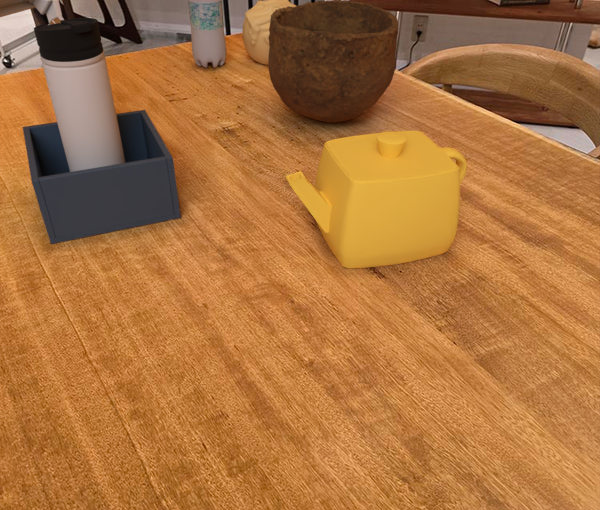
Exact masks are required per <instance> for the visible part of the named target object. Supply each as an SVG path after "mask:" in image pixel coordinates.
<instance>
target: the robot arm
mask: <svg viewBox="0 0 600 510" xmlns="http://www.w3.org/2000/svg"><path fill="white" fill-rule="evenodd" d="M31 9H36V10H37V11H38V12H39V14H40V15H42V16H43V15H46V17H47V21H48V25H51V24H56V23H61V20H65V19H64V17H63V13H62V9H61V5H60V0H0V18H4V17H7V16H10V15H14V14H18V13H21V12H24V11H28V10H31ZM2 57H3V55H2V51H0V59H1V58H2Z"/></svg>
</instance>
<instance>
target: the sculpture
mask: <svg viewBox="0 0 600 510" xmlns="http://www.w3.org/2000/svg"><path fill="white" fill-rule="evenodd" d="M288 6H289V7H296V6H297V5H296V4H294V3H292V2H291V1H290V0H257V2H256V3H255V5H254V6H252V7H251V8H249V9H247V11H246V12H244V16H245V17H244V20H243V24H242V31H241V32H242V33H241V34H242V42H243V46H244V48H245V50H246V52H247V54H248V56H249V57H250V58H251V59H252V60H254V62H257V63H259V64H262V65H265V66H268V60H269V34H270V31H269V27H270V21H271V15H272V14H273V12H275V10H277V9H279V8H287V7H288Z"/></svg>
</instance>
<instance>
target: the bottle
mask: <svg viewBox="0 0 600 510" xmlns="http://www.w3.org/2000/svg"><path fill="white" fill-rule="evenodd" d="M187 2H188V12H189V13H188V15H189V23H190V34H191V35H190V37H191V38H190V39H191V40H190V41H191V55H192V57H193V61H194V62H195V65H197V66H198V67H201V66H202V67H203V68H205V69H207V68H208V67H209V63H211V64H212V67H213V68H214V69H215V68H217V67H218V66H223V65H224V64H225V63H226V60H227V43H226V36H225V27H224V9H223V0H187Z"/></svg>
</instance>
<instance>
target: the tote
mask: <svg viewBox="0 0 600 510" xmlns="http://www.w3.org/2000/svg"><path fill="white" fill-rule="evenodd" d="M116 116H117V121H118V126H119V132H120V137H121V142H122V147H123V153H124V158H125V163H122V164H116V165H110V166H104V167H98V168H92V169H86V170H80V171H74V172H70V170H69V166H68V162H67V158H66V154H65V150H64V147H63V143H62V139H61V135H60V131H59V127H58V123H57V121H53V122H47V123H38V124H32V125H26V126H22V131H23V138H24V145H25V151H26V156H27V163H28V169H29V174H30V181H31V184H32V188H33V190H34V194H35V197H36V200H37V203H38V207H39V211H40V215H41V216H42V220H43V223H44V226H45V230H46V233H47V236H48V240H49V243H50V245H53V244H58V243H64V242H69V241H73V240H78V239H83V238H87V237H88V238H89V237H92V236H93V237H94V236H99V235H103V234H108V233H113V232H117V231H123V230H128V229H133V228H138V227H142V226H143V227H144V226H147V225H152V224H157V223H162V222H168V221H173V220H177V219H182V215H181V208H180V201H179V194H178V192H179V191H178V185H177V178H176V171H175V170H176V169H175V163H174V157H173V155H172V154H171V152H170V151H169V148H168V147H167V145H166V144H165V142H164V140H163V138H162V137H161V135H160V133H159V131H158V129H157V128H156V126H155V124H154V123H153V121H152V119H151V118H150V116H149V114H148V112H147V111H146V109H140V110H132V111H126V112H118V113H116Z"/></svg>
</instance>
